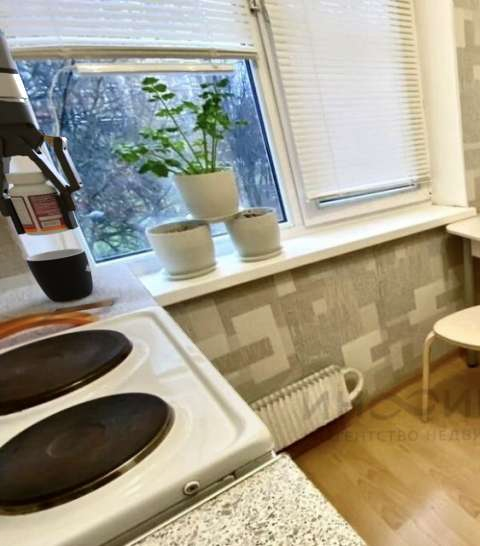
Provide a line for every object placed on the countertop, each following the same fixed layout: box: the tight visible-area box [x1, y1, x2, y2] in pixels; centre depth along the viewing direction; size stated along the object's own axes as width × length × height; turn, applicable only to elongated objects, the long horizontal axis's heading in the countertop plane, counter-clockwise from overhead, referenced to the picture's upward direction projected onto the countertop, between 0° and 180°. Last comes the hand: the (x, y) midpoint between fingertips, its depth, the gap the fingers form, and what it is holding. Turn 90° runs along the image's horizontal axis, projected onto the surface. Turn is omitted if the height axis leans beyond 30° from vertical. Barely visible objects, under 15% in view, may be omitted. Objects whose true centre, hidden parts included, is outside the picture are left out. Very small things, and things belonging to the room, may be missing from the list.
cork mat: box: [49, 299, 115, 317], centre depth 86 cm, size 9×8×1 cm
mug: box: [25, 248, 94, 303], centre depth 94 cm, size 12×9×10 cm
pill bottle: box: [5, 170, 69, 237], centre depth 79 cm, size 6×6×11 cm
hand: (49, 230), depth 80 cm, fingers closed on pill bottle, 6 cm apart
